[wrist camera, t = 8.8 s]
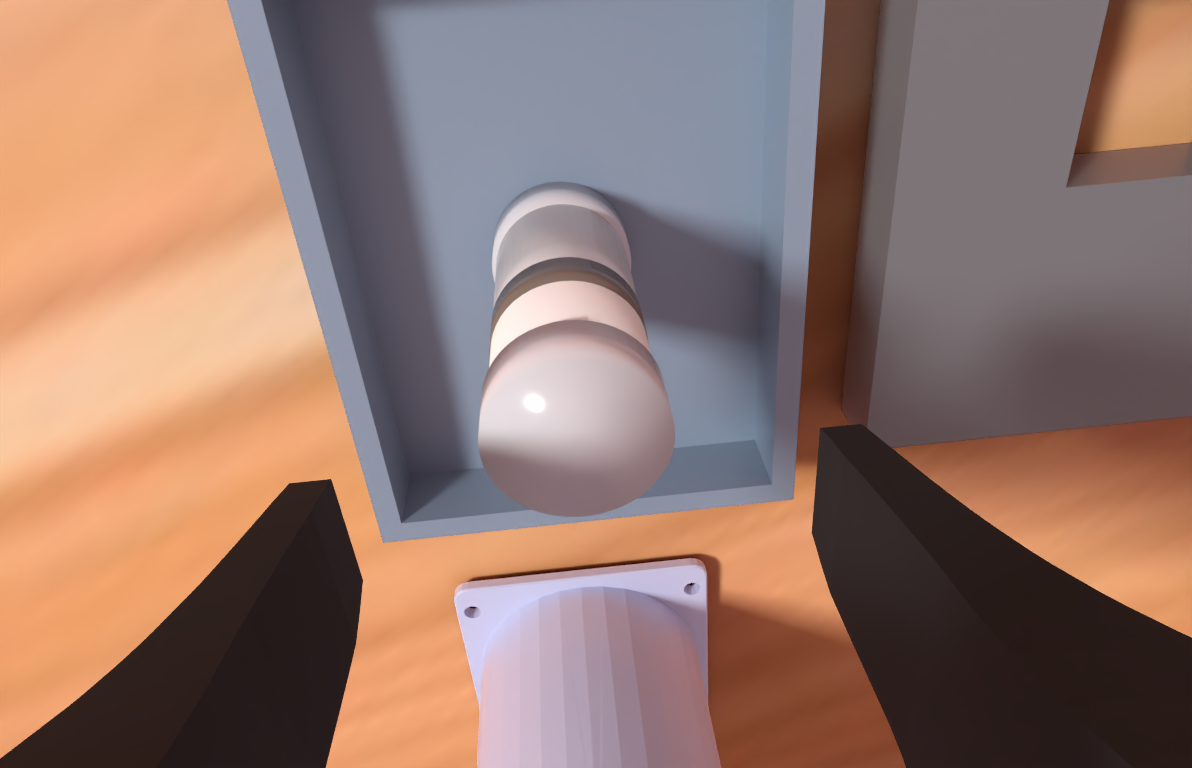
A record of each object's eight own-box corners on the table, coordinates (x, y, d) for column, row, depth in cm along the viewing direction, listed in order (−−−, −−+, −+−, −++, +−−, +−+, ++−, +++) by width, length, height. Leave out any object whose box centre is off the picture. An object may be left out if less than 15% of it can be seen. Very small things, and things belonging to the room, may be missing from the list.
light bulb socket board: (1319, 358, 25) (1384, 401, 23) (841, 408, 24) (867, 455, 23) (1646, -369, 16) (1794, -396, 14) (909, -303, 16) (961, -322, 14)
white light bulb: (629, 298, 21) (677, 506, 15) (503, 311, 21) (493, 526, 15) (621, 174, 20) (672, 346, 13) (484, 188, 20) (463, 368, 13)
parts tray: (770, 443, 25) (793, 499, 23) (395, 482, 25) (383, 542, 23) (794, -106, 17) (832, -100, 15) (253, -56, 17) (215, -42, 15)
